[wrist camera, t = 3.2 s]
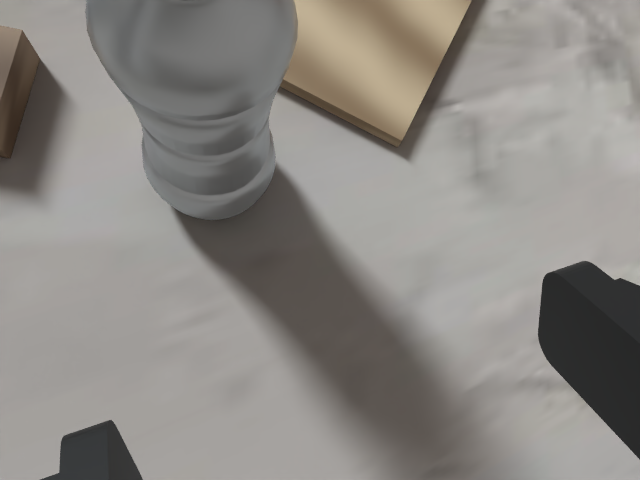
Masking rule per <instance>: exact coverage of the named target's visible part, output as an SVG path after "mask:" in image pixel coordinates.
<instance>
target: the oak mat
mask: <svg viewBox="0 0 640 480" xmlns="http://www.w3.org/2000/svg"><path fill="white" fill-rule="evenodd" d="M471 1H472V0H294V2H295V6H296V12H297V17H298V35H297V41H296V45H295V48H294V52H293V55H292V58H291V61H290V65H289V68H288V70H287V72H286V74H285V76H284V78H283V80H282V82H281V84H280V87H282V88H284V89H286V90H288V91H290V92H292V93H294V94H295V95H297V96H299V97H301V98H303V99H305V100H307V101H309V102H311V103H313V104H315V105H317V106H319V107H320V108H322V109H324V110H326V111H328V112H330V113H332V114H334V115H336V116H338V117H340V118H342V119H344V120H346V121H347V122H349V123H351V124H353V125H355V126H357V127H359V128H361V129H363V130H365V131H367V132H369V133H371V134H373V135H374V136H376V137H378V138H380V139H382V140H384V141H386V142H388V143H390V144H392V145H394V146H396V147H398V146H399V145H400V143H401V142H402V140H403V138H404V136H405V134H406V132H407V130H408V128H409V126H410V124H411V122H412V120H413V118H414V116H415V114H416V112H417V110H418V108H419V106H420V104H421V102H422V100H423V98H424V96H425V94H426V92H427V90H428V88H429V86H430V84H431V82H432V80H433V78H434V75H435V73H436V71H437V69H438V67H439V65H440V63H441V61H442V59H443V57H444V55H445V53H446V51H447V49H448V47H449V45H450V43H451V41H452V39H453V37H454V35H455V33H456V31H457V29H458V27H459V25H460V23H461V21H462V19H463V17H464V15H465V13H466V11H467V9H468V7H469V5H470V3H471Z"/></svg>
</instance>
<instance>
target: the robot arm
mask: <svg viewBox="0 0 640 480" xmlns="http://www.w3.org/2000/svg"><path fill="white" fill-rule="evenodd" d="M538 338H539V343H540V346H541V349H542V351H543V353H544V355H545V357H546V359H547V360H548V361H549V363H550V364H551V365H552V366H553V367H554V368H555V370H556V371H557V372H558V373H559V374H560V375H561V376H562V377H563V378H564V379H565V380H566V381H567V382H568V383H569V384H570V386H571V387H572V388H573V389H574V390H575V391H576V392H577V393H578V394H579V395H580V396H581V397H582V398H583V399H584V400H585V402H586V403H587V404H588V405H589V406H590V407H591V408H592V409H593V410H594V411H595V412H596V413H597V414H598V415H599V416H600V418H601V419H602V420H603V421H604V422H605V423H606V424H607V425H608V426H609V427H610V428H611V429H612V430H613V431H614V432H615V434H616V435H617V436H618V437H619V438H620V439H621V440H622V441H623V442H624V443H625V444H626V445H627V446H628V447H629V448H630V449H631V451H632V452H633V453H634V454H635V455H636V456H637V457H638V458H639V459H640V286H639V285H636V284H634V283H631V282H629V281H626V280H624V279H621V278H619V279H617V280H614V279H612V278H611V277H610V276H608V275H607V274H606V273H605V272H603V271H602V270H601V269H599V268H598V267H597V266H595V265H594V264H592V263H590V262H587V261H582V262H579V263H576V264H573V265H570V266H567V267H564V268H561V269H558V270H556V271H553V272H550V273H547V274H546V275H545V277H544V279H543V283H542V295H541V306H540V317H539V328H538ZM41 480H143V479H142V477H141V475H140V472H139V471H138V469H137V467H136V465H135V463H134V461H133V459H132V457H131V455H130V453H129V451H128V449H127V447H126V445H125V443H124V441H123V439H122V437H121V435H120V433H119V431H118V429H117V427H116V425H115V424H114V422H113V421H112V420H109V421H106V422H103V423H100V424H97V425H94V426H91V427H88V428H85V429H82V430H79V431H76V432H73V433H70V434H68V435H65V436H64V437H63V438H62V441H61V451H60V471H59V473H58V474H55V475H52V476H49V477H46V478H44V479H41Z"/></svg>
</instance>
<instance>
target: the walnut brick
mask: <svg viewBox="0 0 640 480" xmlns="http://www.w3.org/2000/svg"><path fill="white" fill-rule="evenodd" d="M39 61H40V58H39V56H38V54H37V53H36V51H35V50H34V48H33V46H32V45H31V43H30V42H29V40H28V38H27V37H26V35H25V34H24V32H23V31H22V30H20V29H15V28H10V27H5V26H0V157H4V158H11V154H12V151H13V148H14V144H15V141H16V138H17V134H18V131H19V128H20V124H21V121H22V118H23V114H24V111H25V108H26V104H27V101H28V98H29V94H30V91H31V88H32V84H33V81H34V78H35V74H36V71H37V68H38V64H39Z"/></svg>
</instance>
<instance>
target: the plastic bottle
mask: <svg viewBox="0 0 640 480" xmlns="http://www.w3.org/2000/svg"><path fill="white" fill-rule="evenodd" d="M85 13H86V24H87V31H88V34H89V37H90V40H91V43H92V46H93V49H94V50H95V52H96V54H97V56H98V57H99V59H100V61H101V63H102V65H103V66H104V68H105V70H106V71H107V73H108V75H109V76H110V78H111V79H112V80H113V81H114V83H115V84H116V85H117V87H118V88H119V89H120V91H121V92H122V93H123V94H124V96H125V97H126V98H127V100H128V101H129V102H130V104H131V105H132V106H133V108H134V110H135V112H136V114H137V116H138V118H139V120H140V122H141V125H142V131H143V138H142V157H143V167H144V170H145V173H146V176H147V179H148V180H149V182H150V184H151V185H152V187H153V189H154V190H155V191H156V192H157V193H158V194H159V195H160V197H161V198H162V199H163V200H165V201H166V202H167V203H169V204H170V205H171V206H173V207H174V208H175V209H177V210H178V211H180V212H182V213H184V214H186V215H188V216H192V217H195V218H199V219H207V220H218V219H226V218H229V217H233V216H236V215H238V214H240V213H242V212H244V211H246V210H247V209H248V208H250V207H251V206H252V205H253V204H255V202H256V201H257V200H258V199H259V198H260V197H261V196H262V194H263V193H264V192H265V191H266V189H267V188H268V186H269V184H270V182H271V180H272V177H273V173H274V170H275V159H276V156H275V150H274V143H273V137H272V134H271V131H270V129H269V114H270V109H271V106H272V102H273V99H274V97H275V95H276V93H277V90H278V88H279V86H280V84H281V82H282V80H283V78H284V76H285V74H286V72H287V70H288V68H289V65H290V61H291V58H292V55H293V52H294V48H295V45H296V41H297V35H298V17H297V12H296V6H295V2H294V0H87V1H86V11H85Z"/></svg>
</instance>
